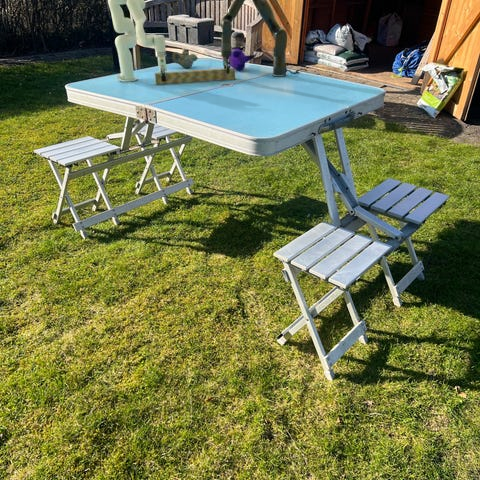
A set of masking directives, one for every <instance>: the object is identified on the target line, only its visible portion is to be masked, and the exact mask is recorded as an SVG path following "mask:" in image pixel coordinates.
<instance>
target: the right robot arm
mask: <svg viewBox="0 0 480 480" xmlns="http://www.w3.org/2000/svg"><path fill="white" fill-rule="evenodd" d="M251 1H252V3H253V5H254V7H255V8H256V11H257V13H258V14H259V16H260V17H261V19H262V20H263V22H264V24H265V25H266V26H267V28H268V29H269V30H268V31H269V32H270V35H271V36H272V39H273V40H274V46H273V51H272V53H273V55H272V56H273V57H272V58H273V59H272V60H273V61H272V76H273V77H276V78H277V77H279V78H280V77H286V76H287V73H288V72H290V74H299V71H306V72H309V70H307V68H300V69H296V70H295V71H293V72H292V71H291V70H290V69H288V68H287V62H286V55H287V54H286V53H287V52H286V51H287V48H288V33H287V30H285V29H284V28H282V27H281V26H280V25H279V23H278V22H277V19H276V18H275V17H276V16H275V14H274V11H273V8H272V6H271V4H270V3H269V1H268V0H251ZM245 2H246V0H233V1H232V2H231V4H230V5H229V8H228V9H227V11H226V13H225V15H224V16H223V17H222V19H221V20H220V23H219V26H220V28H221V35H220V36H221V41H220V42H221V44H220V55H221V57H222V65H223V69H224V68H226V70H227V74H229V73H230V68H231V66H230V59H229V57H231V56H232V52H231V51H232V28H233V27H232V26H233V25H232V22H233V21H234V19H236V17H237V16H238V14H239V12H240V10H241V8H242V7H243V5H244V3H245Z"/></svg>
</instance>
